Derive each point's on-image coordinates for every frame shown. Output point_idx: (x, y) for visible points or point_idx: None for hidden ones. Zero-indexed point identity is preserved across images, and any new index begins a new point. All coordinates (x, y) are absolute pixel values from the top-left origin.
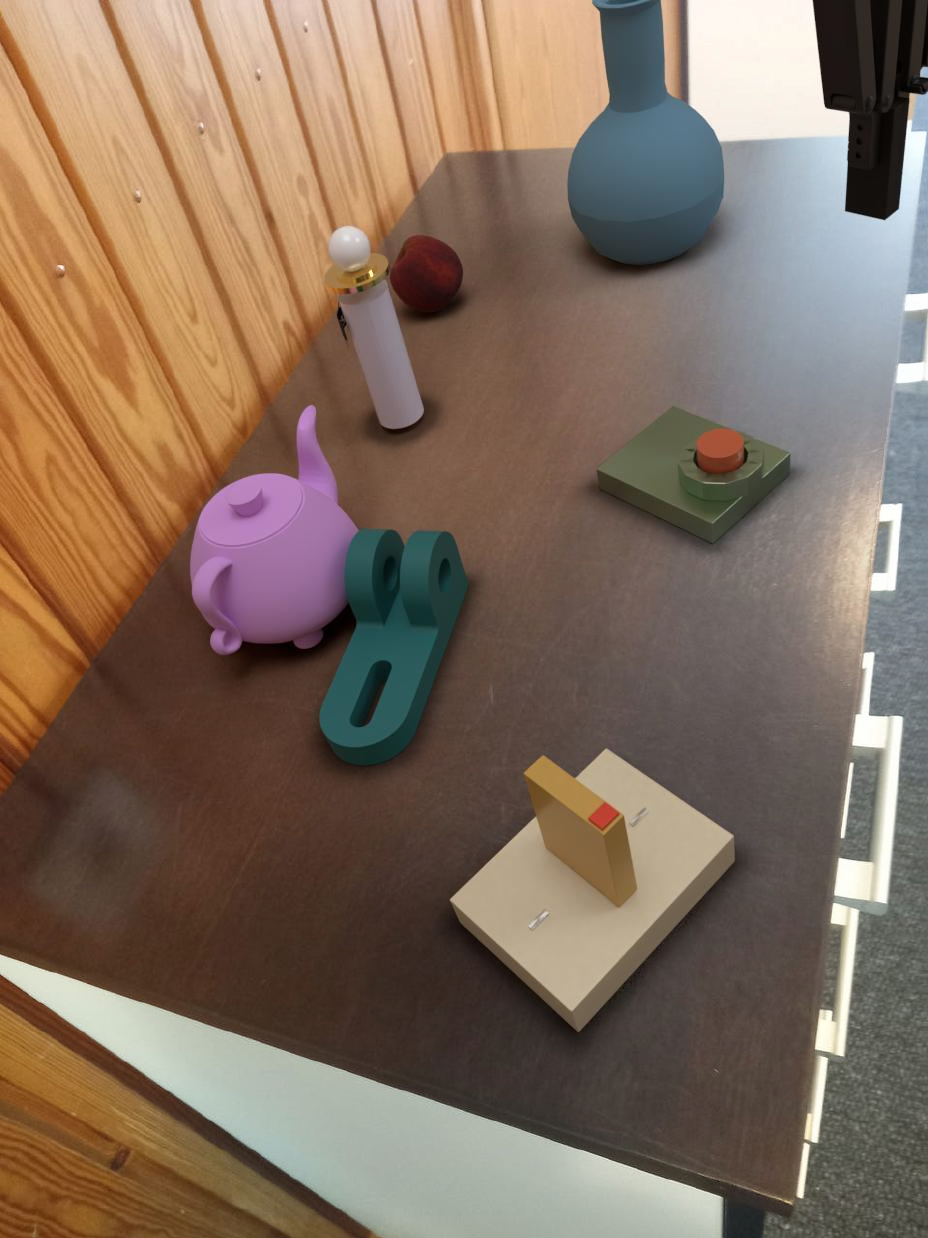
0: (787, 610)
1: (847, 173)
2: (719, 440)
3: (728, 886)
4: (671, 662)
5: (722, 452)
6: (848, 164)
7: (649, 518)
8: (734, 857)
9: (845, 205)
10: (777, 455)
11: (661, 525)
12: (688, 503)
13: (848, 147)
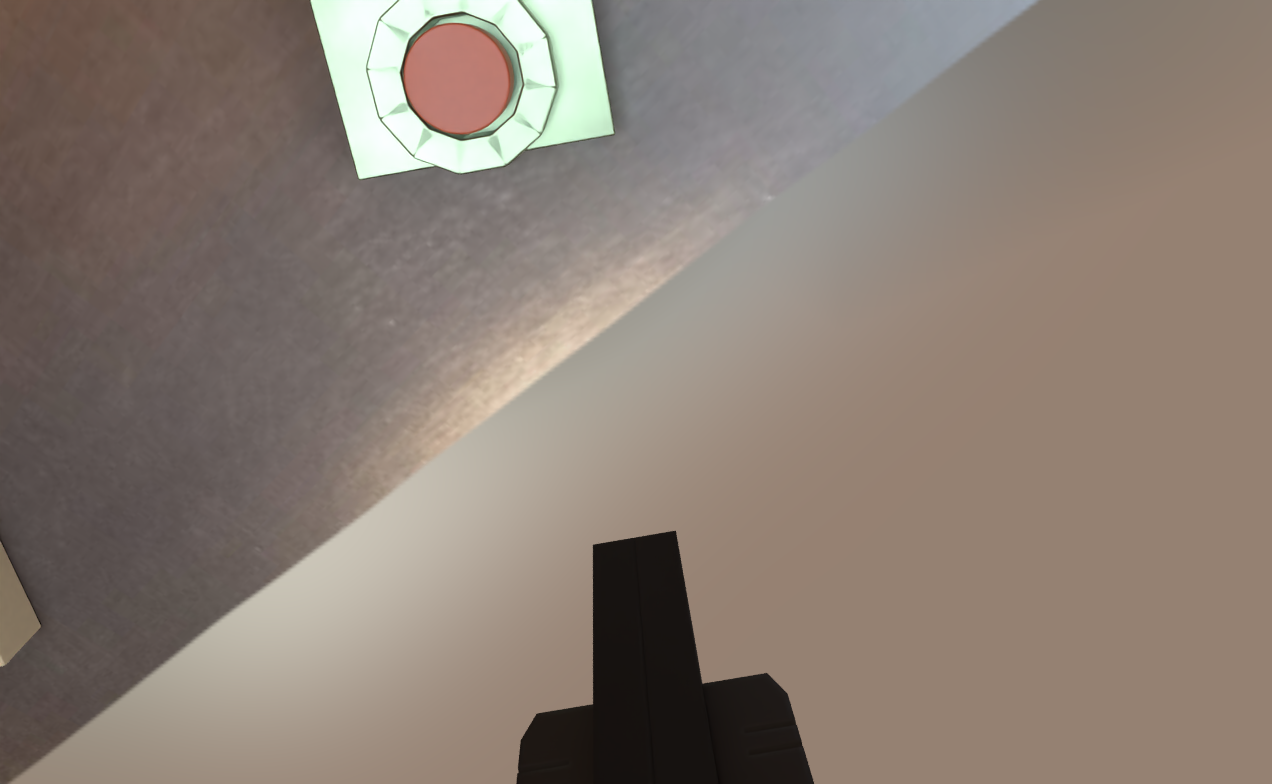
0: (369, 377)
1: (595, 623)
2: (460, 73)
3: None
4: (146, 336)
5: (438, 111)
6: (532, 721)
7: None
8: (34, 633)
9: (593, 556)
10: (589, 121)
11: None
12: (358, 97)
13: (519, 777)
